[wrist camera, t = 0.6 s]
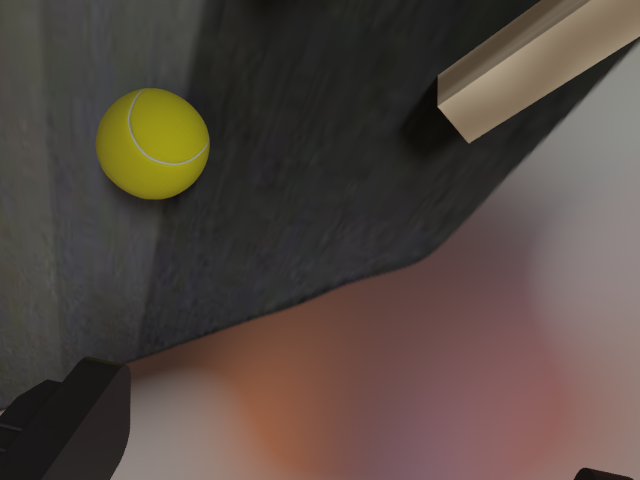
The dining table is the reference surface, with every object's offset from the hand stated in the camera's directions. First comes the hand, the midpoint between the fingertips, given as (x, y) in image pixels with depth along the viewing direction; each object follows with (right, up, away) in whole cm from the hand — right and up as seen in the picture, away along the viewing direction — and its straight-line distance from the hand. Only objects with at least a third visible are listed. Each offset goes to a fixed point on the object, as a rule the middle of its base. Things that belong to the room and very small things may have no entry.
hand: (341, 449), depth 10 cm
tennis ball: (-11, +12, +29) cm, 34 cm away
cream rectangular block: (+14, +16, +20) cm, 29 cm away
